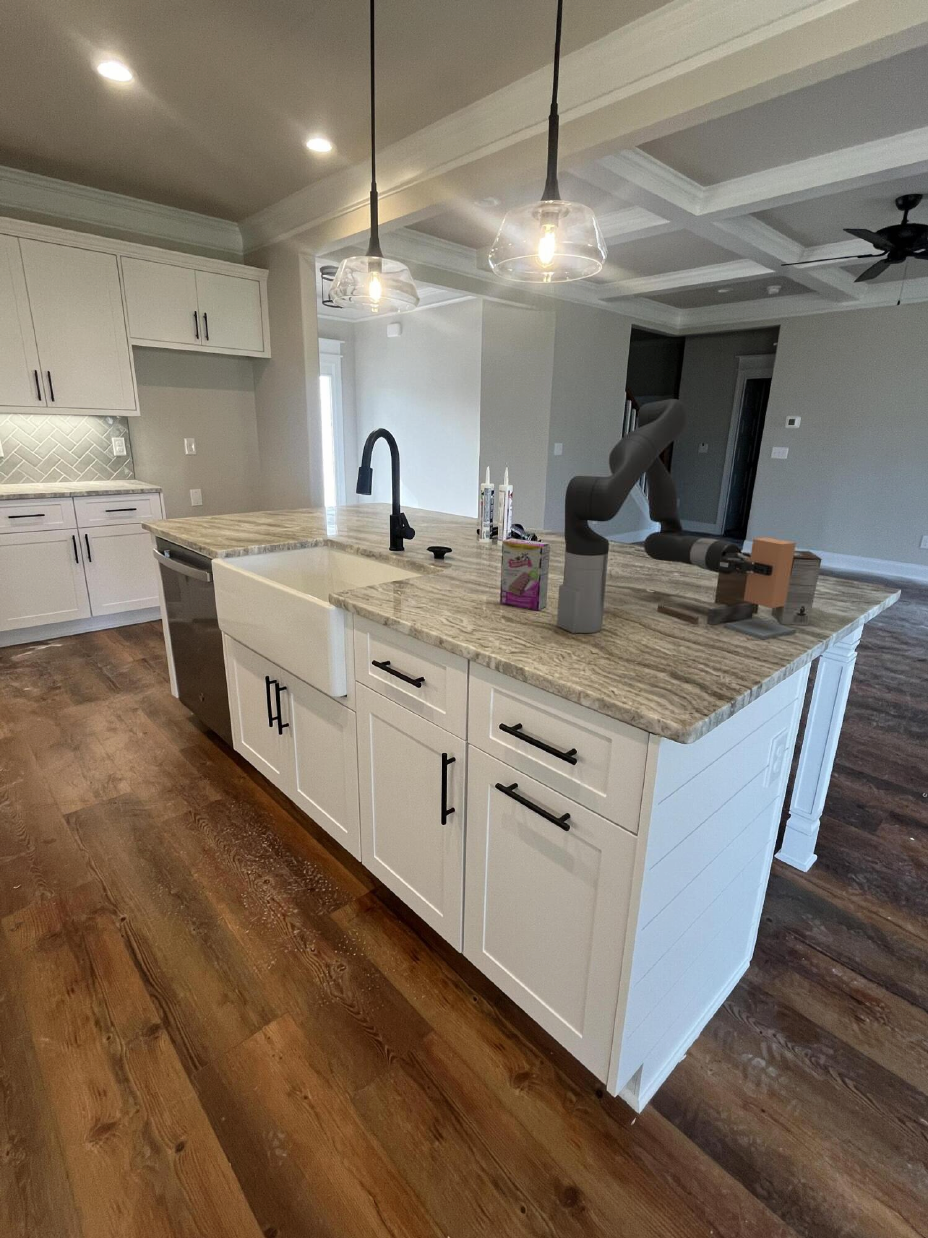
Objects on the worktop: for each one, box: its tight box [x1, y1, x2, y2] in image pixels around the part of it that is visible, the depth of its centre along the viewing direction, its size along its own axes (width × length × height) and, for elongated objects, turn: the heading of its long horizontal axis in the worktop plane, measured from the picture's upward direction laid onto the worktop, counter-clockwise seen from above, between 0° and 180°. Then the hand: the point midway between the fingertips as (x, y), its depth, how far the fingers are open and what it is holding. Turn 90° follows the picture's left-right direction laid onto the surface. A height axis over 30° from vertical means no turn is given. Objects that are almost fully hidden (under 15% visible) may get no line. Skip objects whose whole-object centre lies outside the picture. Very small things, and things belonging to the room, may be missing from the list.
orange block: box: [744, 537, 797, 609], centre depth 134 cm, size 4×7×14 cm, turn 28°
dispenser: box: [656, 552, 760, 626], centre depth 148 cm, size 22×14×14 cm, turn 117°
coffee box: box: [771, 550, 823, 627], centre depth 143 cm, size 9×6×16 cm
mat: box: [723, 617, 797, 640], centre depth 137 cm, size 11×10×1 cm
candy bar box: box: [499, 538, 551, 611], centre depth 151 cm, size 11×5×16 cm, turn 58°
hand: (778, 569), depth 131 cm, fingers closed on orange block, 4 cm apart
